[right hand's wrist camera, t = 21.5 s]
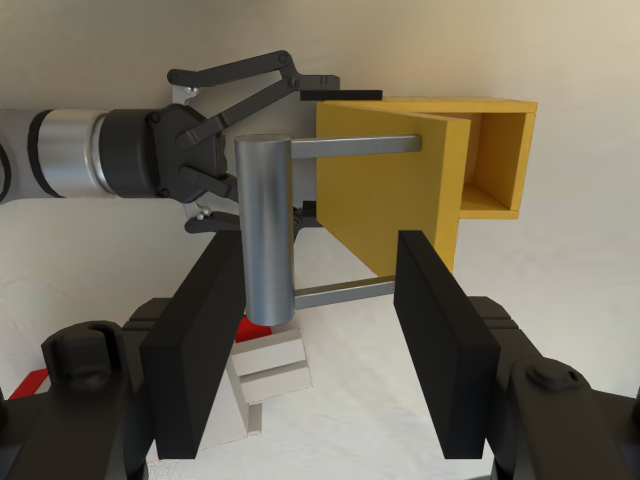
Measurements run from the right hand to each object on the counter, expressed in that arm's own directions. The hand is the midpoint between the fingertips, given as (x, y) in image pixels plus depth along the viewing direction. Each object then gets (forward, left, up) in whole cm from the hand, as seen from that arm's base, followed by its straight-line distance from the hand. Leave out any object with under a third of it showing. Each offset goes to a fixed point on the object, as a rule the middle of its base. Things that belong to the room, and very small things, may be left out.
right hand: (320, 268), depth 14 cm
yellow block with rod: (-2, +3, -12) cm, 13 cm away
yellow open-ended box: (-5, +6, -30) cm, 32 cm away
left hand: (-3, +4, -24) cm, 24 cm away
